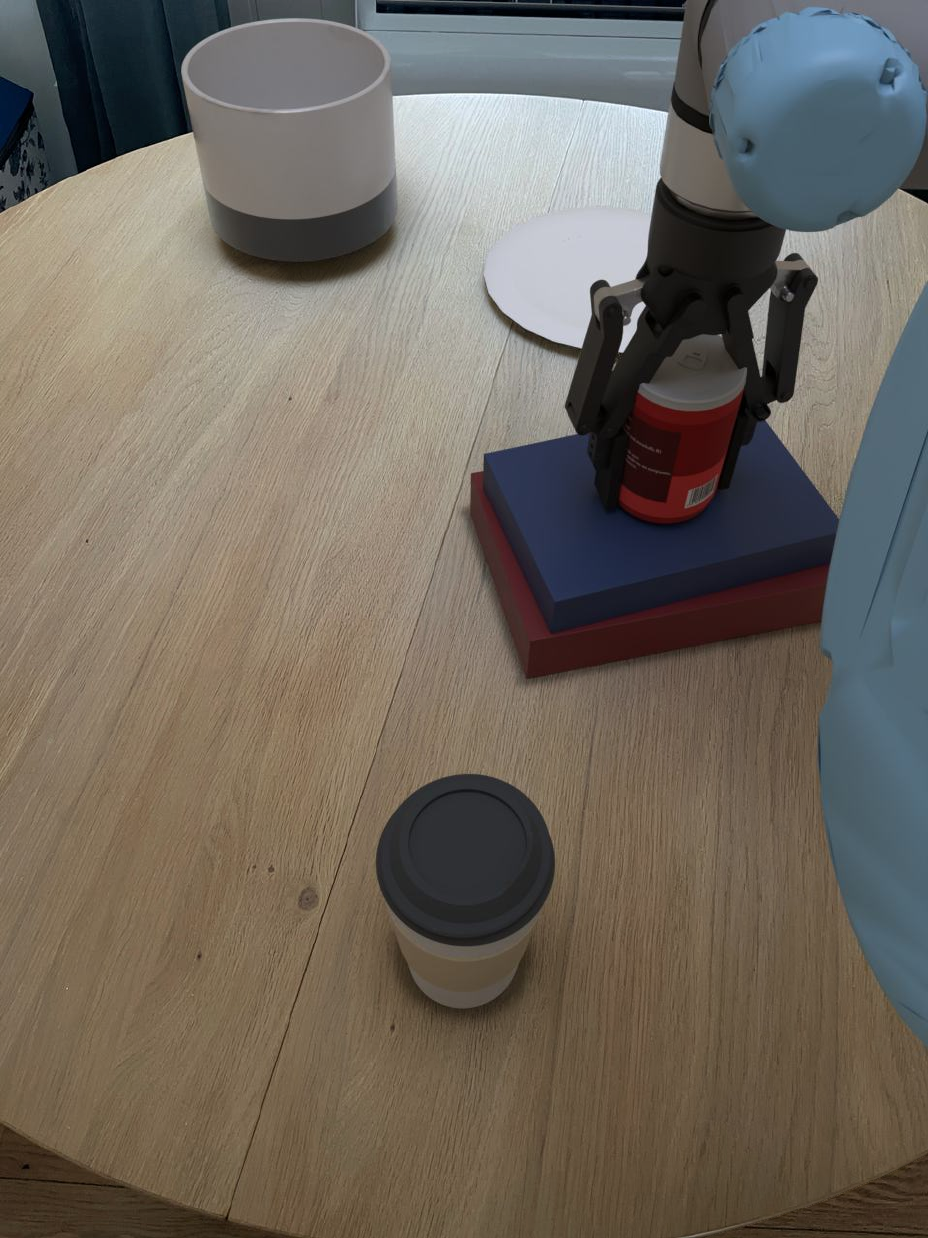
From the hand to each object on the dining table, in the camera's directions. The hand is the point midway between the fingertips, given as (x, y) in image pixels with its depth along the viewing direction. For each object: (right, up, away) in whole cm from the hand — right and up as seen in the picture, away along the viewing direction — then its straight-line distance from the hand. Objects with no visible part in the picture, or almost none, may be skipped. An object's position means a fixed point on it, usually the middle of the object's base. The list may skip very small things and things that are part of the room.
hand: (661, 485), depth 75 cm
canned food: (0, 0, 0) cm, 0 cm away
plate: (0, +24, +30) cm, 38 cm away
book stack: (0, -5, +7) cm, 9 cm away
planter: (-31, +31, +35) cm, 56 cm away
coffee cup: (-14, -30, -12) cm, 35 cm away
